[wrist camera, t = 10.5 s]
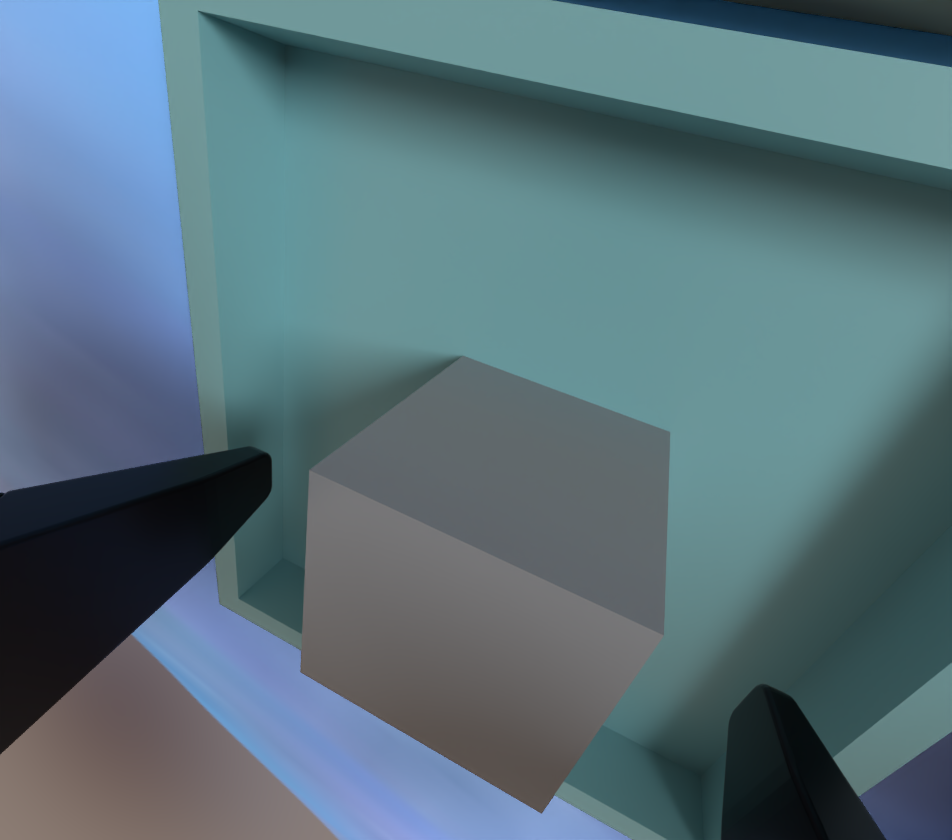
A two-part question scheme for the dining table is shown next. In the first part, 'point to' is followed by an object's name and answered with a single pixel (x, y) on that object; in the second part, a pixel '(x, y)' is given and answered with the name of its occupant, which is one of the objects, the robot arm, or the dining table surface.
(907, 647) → the bin
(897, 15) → the corral
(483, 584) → the slate block
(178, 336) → the dining table surface
